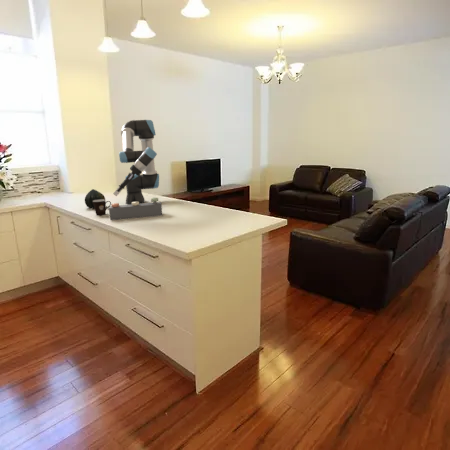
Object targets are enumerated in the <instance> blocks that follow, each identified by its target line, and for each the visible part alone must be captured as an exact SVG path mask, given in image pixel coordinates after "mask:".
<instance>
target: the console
mask: <svg viewBox="0 0 450 450" xmlns="http://www.w3.org/2000/svg"><path fill="white" fill-rule="evenodd" d="M108 211H109V219H110V221H115V220H116V221H117V220H128V218H129V219H136V218H137V219H138V218H139V219H140V218H148V217H149V218H150V217H158V216H159V217H161V216H163V207H162V202H161V201H157V204H153V202H144V203H140V204H139V205H136V206H132V204H121V205H120V204H119V207H112V205H110V207H109V208H108Z"/></svg>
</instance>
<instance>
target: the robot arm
mask: <svg viewBox="0 0 450 450" xmlns="http://www.w3.org/2000/svg"><path fill="white" fill-rule="evenodd" d="M120 135H121V137H122V151H119V154H118V155H119V161H120V163H121V164H128V163H131V164H132V163H133V164H132V165H131V166H130V168H129V170H130V171H131V172H128V175H126V176H125V179H124V180H123V181H122V182H121V183H120V185H118V187H117V188H116V189H115V191H114V192H113V194H112V195H114V196H115V197H117V196H118V195H119V194H120V193H121V191H123V190H124V189H125V187H126V198H125V205H131V204H132V202H139V204H143V203H146V199H145V197H144V195H143V191H142V190H154V189H158V188H159V186H160V174H159V173H158V172H157V170H156V168H155V167H156V165H155V158H156V156H157V155H158V154H157V152H156V151H155V150H154V145H153V140H154V138H155V136H156V129H155V125H154V121H153V120H151V119H137V120H135V119H133V120H129V121H127V122H126V123H124V124H123V126H122V127H121V129H120ZM134 137H138V140H140V143H141V150H135V149H134V148H135V147H134V146H135V145H134Z"/></svg>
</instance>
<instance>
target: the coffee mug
mask: <svg viewBox="0 0 450 450" xmlns="http://www.w3.org/2000/svg"><path fill="white" fill-rule="evenodd" d="M108 202H109V205H108V206H107V207H106V205H107V203H108ZM111 204H112V202H111V201H110V200H107V199H105V200H104V199H100V200H94V201H93V205H94V208H93V209H94V211H95V215H96V216H104V215H106V213H107V212H106V211H107V210H108V209H109V207H110V206H112V205H111Z"/></svg>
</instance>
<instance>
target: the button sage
mask: <svg viewBox="0 0 450 450" xmlns="http://www.w3.org/2000/svg"><path fill="white" fill-rule="evenodd" d="M150 201H151V203H153V204H157V202H159V197H152V198H150Z"/></svg>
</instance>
